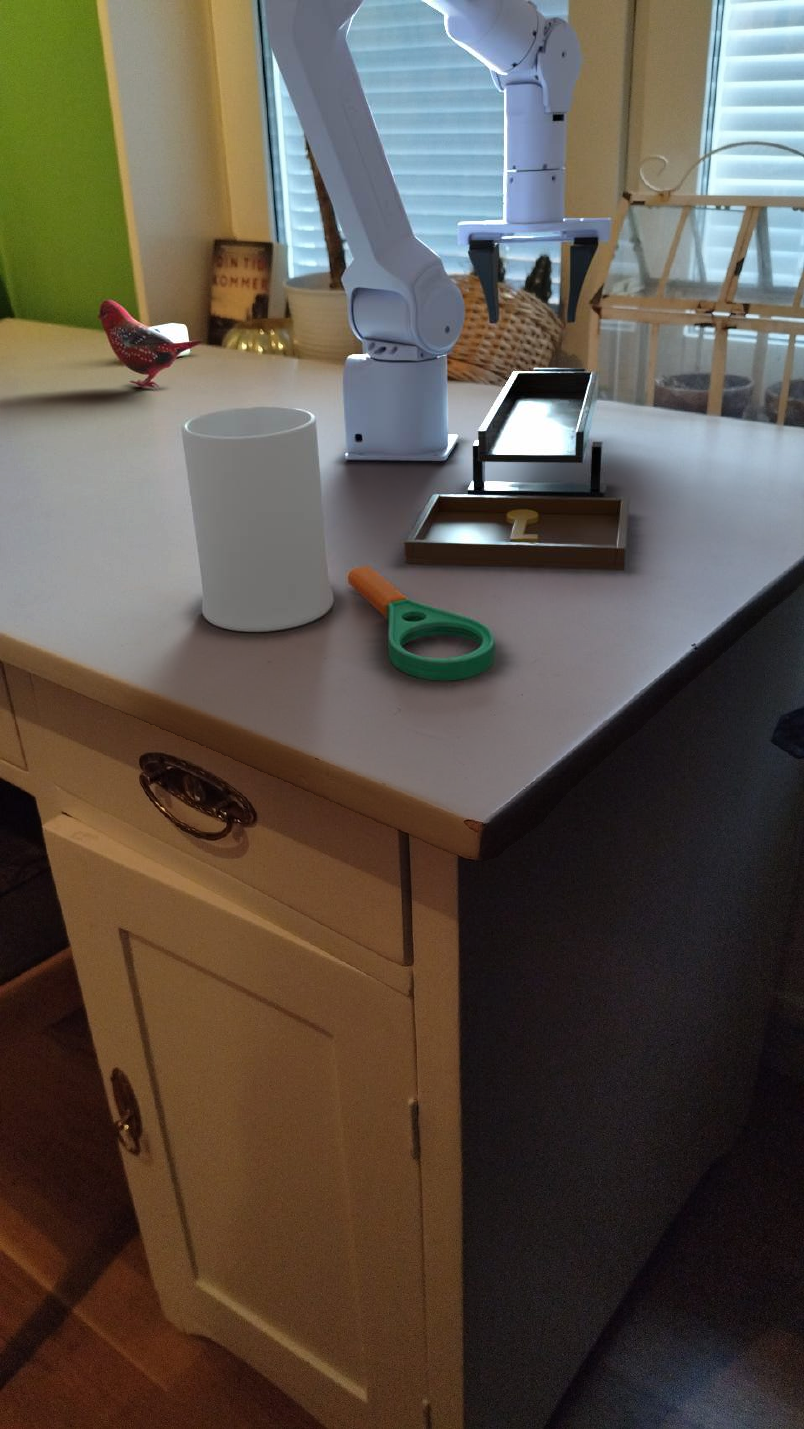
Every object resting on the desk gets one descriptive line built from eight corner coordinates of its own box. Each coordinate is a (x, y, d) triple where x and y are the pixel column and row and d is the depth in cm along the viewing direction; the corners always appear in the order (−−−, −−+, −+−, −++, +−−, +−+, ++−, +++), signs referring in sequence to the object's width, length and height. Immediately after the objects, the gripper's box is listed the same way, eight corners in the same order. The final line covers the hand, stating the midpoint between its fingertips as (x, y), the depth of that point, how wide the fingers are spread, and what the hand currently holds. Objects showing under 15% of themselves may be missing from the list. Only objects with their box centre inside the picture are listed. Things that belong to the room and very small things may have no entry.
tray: (405, 563, 78) (404, 541, 77) (432, 513, 87) (432, 493, 87) (624, 570, 75) (625, 548, 74) (628, 518, 84) (629, 497, 84)
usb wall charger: (190, 355, 153) (186, 325, 151) (149, 363, 149) (144, 332, 147) (173, 352, 155) (169, 322, 153) (132, 360, 151) (127, 330, 149)
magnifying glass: (515, 666, 62) (516, 639, 62) (419, 690, 60) (418, 662, 59) (402, 581, 75) (401, 558, 74) (319, 599, 72) (317, 575, 72)
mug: (169, 585, 76) (142, 409, 70) (283, 560, 79) (266, 390, 74) (230, 644, 67) (205, 447, 61) (356, 613, 70) (343, 424, 64)
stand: (467, 494, 91) (466, 446, 89) (471, 486, 93) (471, 439, 92) (604, 497, 89) (606, 448, 87) (605, 488, 91) (607, 440, 89)
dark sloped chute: (478, 462, 85) (478, 430, 84) (519, 385, 111) (519, 360, 110) (582, 463, 83) (584, 431, 82) (600, 385, 109) (601, 360, 108)
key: (499, 545, 79) (499, 538, 79) (508, 515, 85) (508, 508, 85) (537, 546, 79) (537, 539, 78) (543, 515, 84) (543, 509, 84)
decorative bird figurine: (117, 380, 140) (103, 297, 136) (217, 393, 131) (206, 304, 126) (99, 384, 138) (85, 300, 134) (199, 398, 129) (188, 308, 124)
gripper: (614, 165, 105) (607, 314, 112) (464, 170, 108) (466, 315, 115) (611, 168, 99) (605, 325, 106) (453, 174, 102) (455, 327, 109)
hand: (532, 321), depth 110 cm, fingers open, 7 cm apart
